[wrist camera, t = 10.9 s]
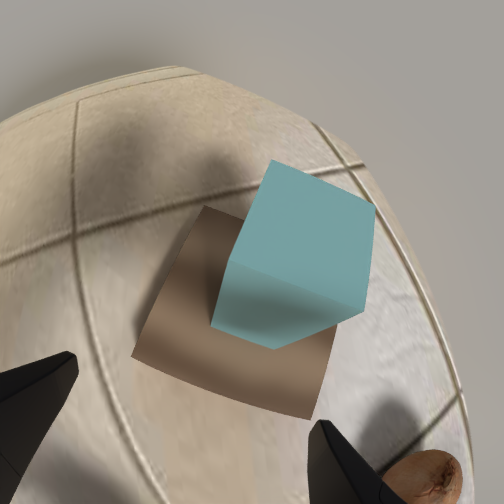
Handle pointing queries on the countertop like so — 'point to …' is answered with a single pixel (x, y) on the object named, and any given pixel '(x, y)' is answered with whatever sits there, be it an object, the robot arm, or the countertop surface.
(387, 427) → the countertop surface
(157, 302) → the walnut base
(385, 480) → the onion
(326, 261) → the teal block
